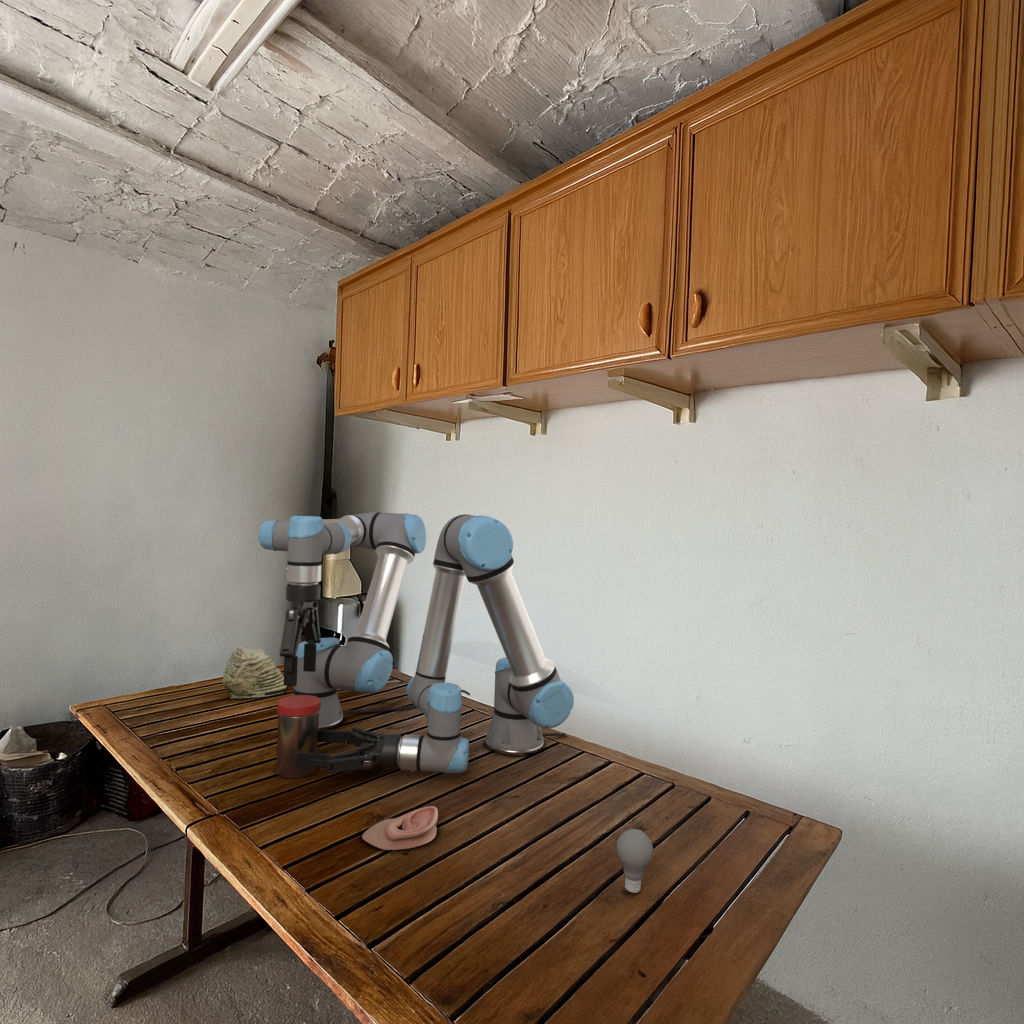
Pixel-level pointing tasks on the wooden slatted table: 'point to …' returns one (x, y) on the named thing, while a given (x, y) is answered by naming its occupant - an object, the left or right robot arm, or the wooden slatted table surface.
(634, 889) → the light bulb
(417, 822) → the anatomical model
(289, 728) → the jar
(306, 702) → the lid
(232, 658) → the fossil
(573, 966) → the wooden slatted table surface
